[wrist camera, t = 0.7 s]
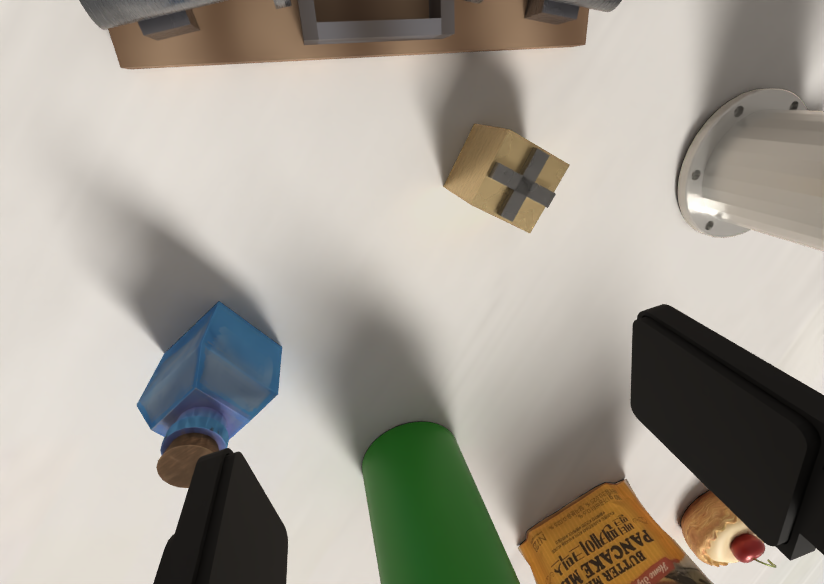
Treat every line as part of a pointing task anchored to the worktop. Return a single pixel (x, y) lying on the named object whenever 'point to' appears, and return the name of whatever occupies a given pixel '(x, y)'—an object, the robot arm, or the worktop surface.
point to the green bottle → (429, 512)
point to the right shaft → (561, 9)
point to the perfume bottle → (208, 390)
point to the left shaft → (152, 15)
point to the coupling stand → (344, 32)
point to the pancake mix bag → (606, 544)
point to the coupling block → (505, 175)
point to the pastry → (719, 533)
